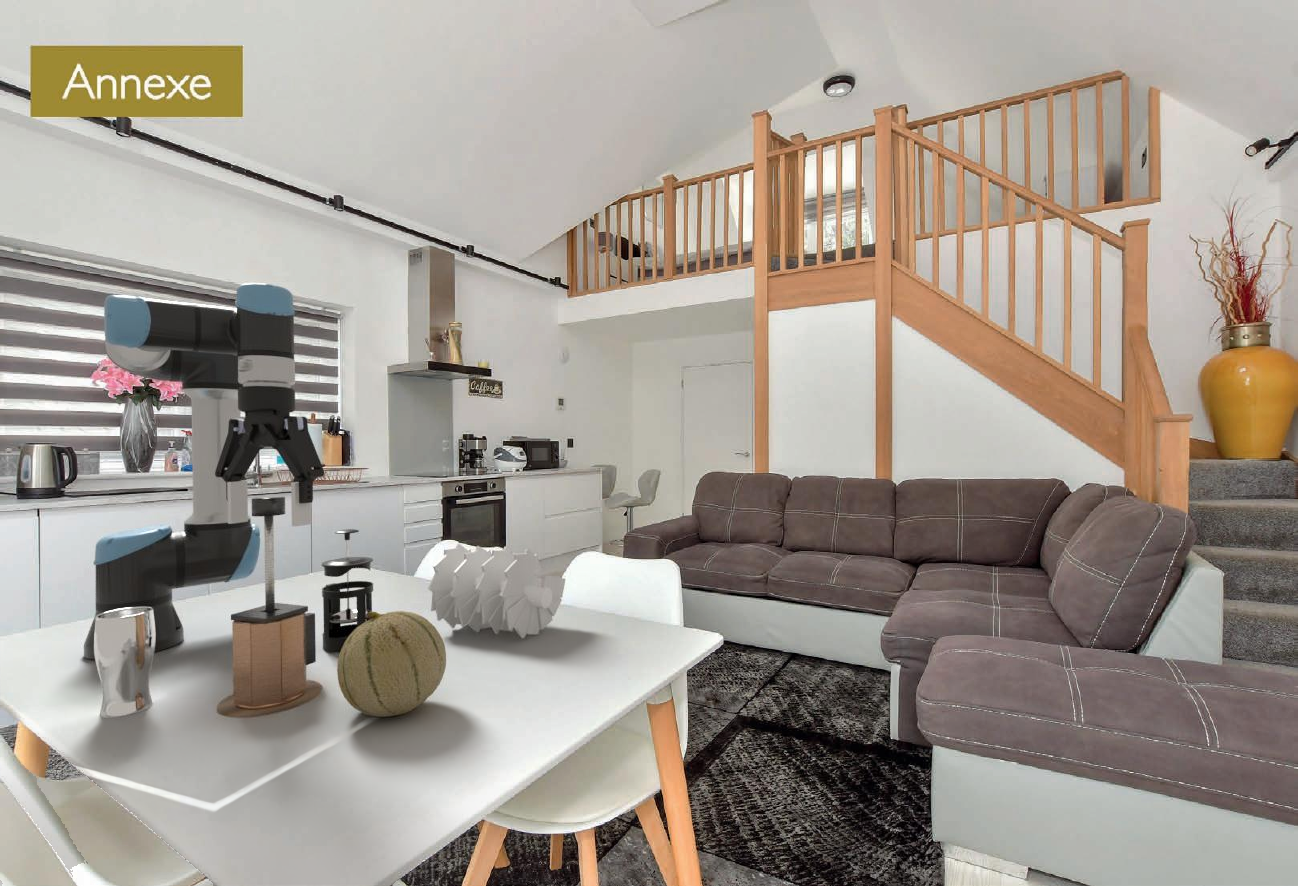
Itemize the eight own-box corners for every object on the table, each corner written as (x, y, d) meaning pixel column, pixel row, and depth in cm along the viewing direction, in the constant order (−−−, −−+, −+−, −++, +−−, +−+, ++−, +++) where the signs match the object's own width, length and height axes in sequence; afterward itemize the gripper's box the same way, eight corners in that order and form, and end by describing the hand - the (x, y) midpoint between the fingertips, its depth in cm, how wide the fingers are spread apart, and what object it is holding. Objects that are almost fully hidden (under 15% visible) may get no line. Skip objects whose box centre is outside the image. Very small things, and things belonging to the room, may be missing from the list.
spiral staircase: (532, 664, 119) (434, 642, 129) (575, 605, 134) (483, 589, 144) (510, 589, 112) (407, 573, 122) (558, 535, 126) (462, 524, 136)
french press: (387, 645, 120) (385, 528, 120) (341, 660, 112) (339, 534, 112) (352, 635, 126) (351, 524, 126) (306, 649, 118) (305, 530, 118)
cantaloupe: (457, 718, 87) (455, 613, 87) (343, 746, 79) (341, 631, 79) (433, 684, 100) (432, 592, 100) (333, 705, 92) (331, 606, 92)
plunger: (237, 636, 92) (235, 499, 92) (274, 625, 98) (272, 495, 98) (266, 640, 90) (264, 500, 90) (302, 628, 96) (300, 496, 96)
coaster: (193, 713, 90) (193, 709, 90) (279, 678, 103) (279, 675, 103) (261, 727, 85) (261, 723, 85) (343, 689, 98) (343, 685, 98)
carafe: (220, 705, 91) (219, 616, 91) (292, 676, 103) (291, 596, 103) (265, 713, 88) (263, 621, 88) (333, 682, 99) (332, 600, 99)
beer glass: (105, 728, 86) (103, 621, 86) (87, 716, 89) (86, 614, 89) (164, 709, 92) (163, 609, 92) (145, 699, 95) (144, 603, 95)
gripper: (186, 388, 95) (188, 524, 95) (305, 380, 86) (308, 529, 86) (234, 392, 102) (236, 518, 102) (348, 384, 93) (350, 523, 93)
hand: (269, 524), depth 94 cm, fingers open, 13 cm apart
